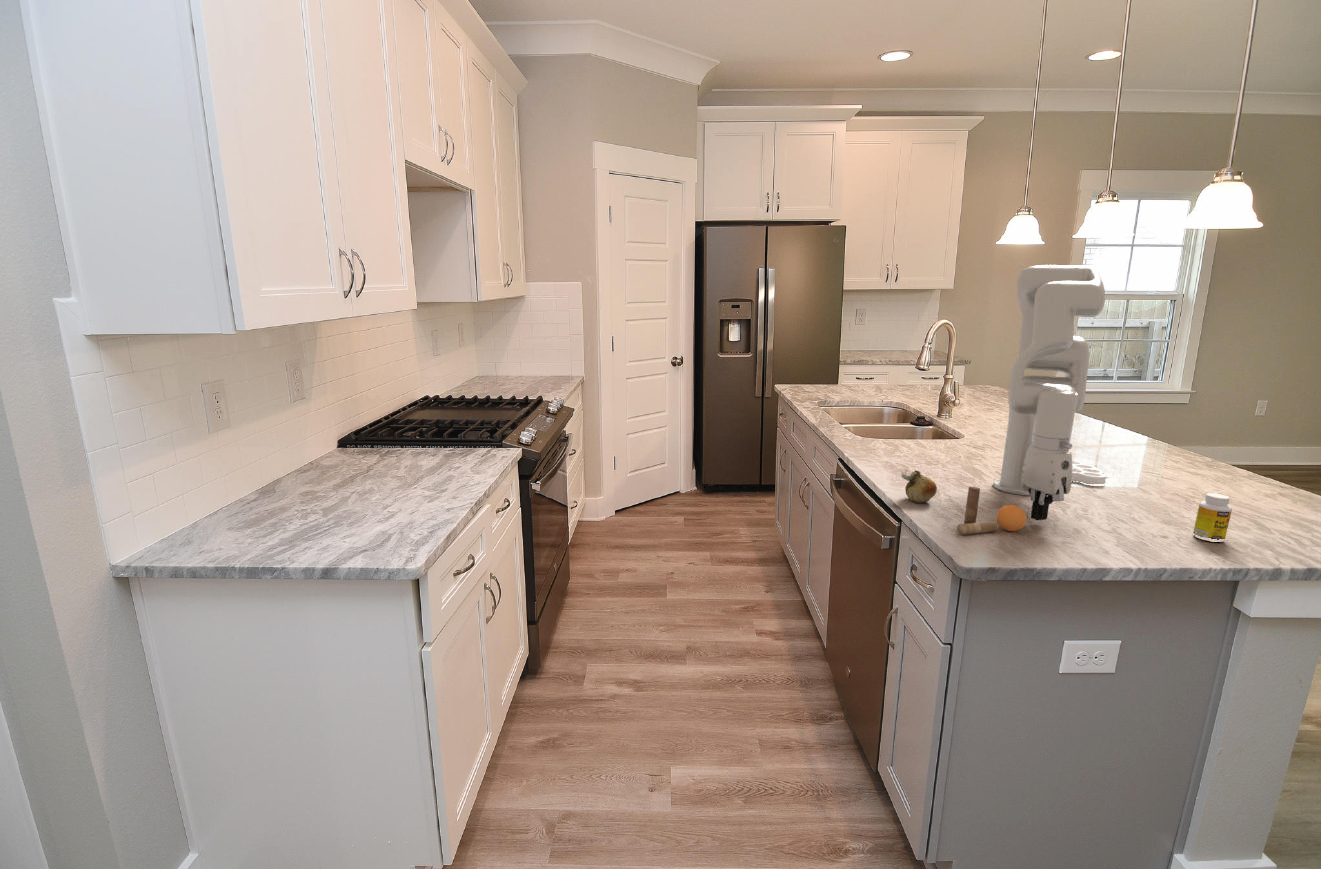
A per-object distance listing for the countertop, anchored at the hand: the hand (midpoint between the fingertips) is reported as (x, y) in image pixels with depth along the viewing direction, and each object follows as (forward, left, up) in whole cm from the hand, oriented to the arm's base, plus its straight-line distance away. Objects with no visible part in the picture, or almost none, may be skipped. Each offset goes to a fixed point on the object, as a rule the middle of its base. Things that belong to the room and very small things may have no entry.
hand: (1038, 518), depth 152 cm
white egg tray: (-43, -30, -2) cm, 52 cm away
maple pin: (+13, +1, 0) cm, 13 cm away
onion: (+17, -21, -2) cm, 27 cm away
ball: (+9, +2, +2) cm, 10 cm away
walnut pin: (+16, -3, -2) cm, 16 cm away
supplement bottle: (-31, +16, -2) cm, 35 cm away
